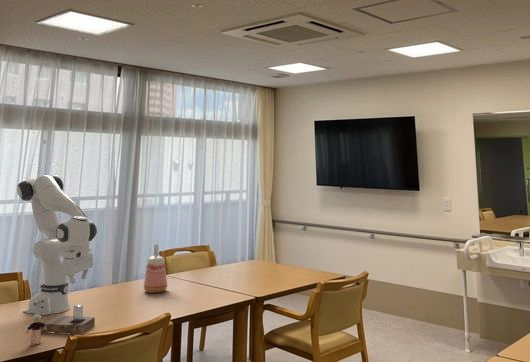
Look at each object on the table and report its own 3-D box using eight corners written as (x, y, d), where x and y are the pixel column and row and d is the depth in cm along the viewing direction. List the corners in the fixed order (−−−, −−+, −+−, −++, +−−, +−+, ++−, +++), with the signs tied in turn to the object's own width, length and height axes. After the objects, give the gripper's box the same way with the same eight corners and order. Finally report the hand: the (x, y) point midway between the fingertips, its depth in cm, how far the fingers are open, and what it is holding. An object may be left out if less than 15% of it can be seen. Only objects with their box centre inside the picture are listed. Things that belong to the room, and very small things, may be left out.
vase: (145, 288, 270) (146, 242, 270) (168, 288, 272) (169, 242, 272) (141, 294, 256) (142, 246, 256) (165, 294, 257) (166, 246, 258)
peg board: (39, 332, 190) (39, 323, 190) (55, 323, 202) (55, 315, 202) (80, 334, 188) (80, 325, 188) (94, 325, 200) (94, 317, 200)
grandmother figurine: (28, 347, 172) (28, 317, 172) (24, 345, 175) (25, 315, 175) (47, 342, 178) (48, 313, 178) (44, 340, 181) (44, 311, 181)
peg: (71, 328, 193) (71, 306, 193) (76, 325, 197) (76, 304, 197) (79, 329, 192) (79, 307, 192) (84, 326, 196) (84, 304, 196)
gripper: (84, 247, 205) (84, 275, 205) (59, 254, 185) (59, 286, 185) (96, 248, 205) (96, 276, 205) (73, 255, 184) (72, 286, 184)
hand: (78, 281), depth 195 cm, fingers open, 8 cm apart
